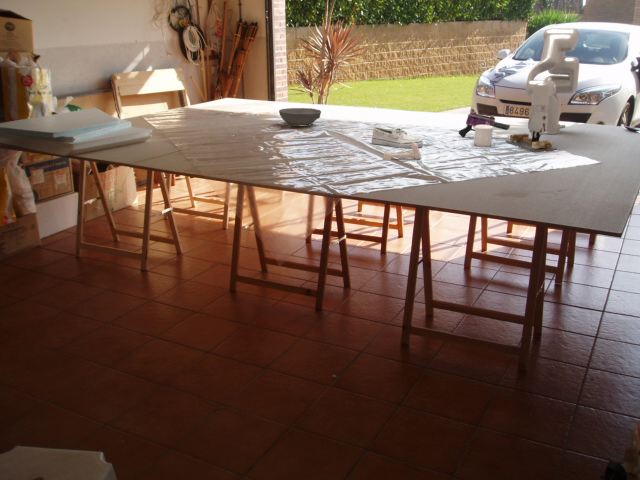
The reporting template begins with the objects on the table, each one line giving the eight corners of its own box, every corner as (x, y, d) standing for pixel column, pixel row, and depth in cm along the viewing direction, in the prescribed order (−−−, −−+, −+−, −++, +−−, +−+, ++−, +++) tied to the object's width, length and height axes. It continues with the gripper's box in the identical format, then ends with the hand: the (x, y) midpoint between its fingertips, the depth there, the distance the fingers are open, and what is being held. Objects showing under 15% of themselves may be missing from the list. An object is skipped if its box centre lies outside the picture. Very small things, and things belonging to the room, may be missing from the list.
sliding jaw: (547, 146, 299) (548, 139, 298) (551, 147, 296) (552, 140, 295) (531, 147, 297) (531, 141, 295) (534, 148, 294) (535, 142, 293)
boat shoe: (419, 149, 304) (420, 131, 300) (367, 145, 315) (367, 127, 312) (425, 145, 313) (425, 127, 309) (374, 141, 324) (374, 124, 320)
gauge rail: (523, 140, 318) (524, 132, 317) (553, 150, 295) (554, 141, 293) (507, 142, 316) (508, 133, 314) (536, 152, 293) (537, 143, 291)
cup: (481, 147, 305) (483, 128, 301) (468, 144, 313) (470, 125, 310) (495, 145, 309) (497, 126, 306) (482, 142, 317) (484, 124, 314)
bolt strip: (526, 140, 319) (526, 138, 318) (557, 150, 296) (557, 148, 295) (505, 142, 316) (505, 140, 315) (534, 152, 292) (534, 150, 292)
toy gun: (503, 147, 326) (512, 121, 320) (457, 136, 329) (465, 110, 323) (502, 146, 329) (511, 120, 323) (457, 135, 332) (465, 109, 326)
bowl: (278, 123, 383) (278, 107, 379) (318, 121, 385) (318, 106, 382) (280, 130, 359) (279, 114, 355) (323, 128, 361) (323, 112, 358)
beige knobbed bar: (386, 168, 288) (379, 149, 285) (420, 155, 286) (414, 136, 283) (387, 170, 285) (380, 151, 281) (422, 157, 283) (416, 138, 279)
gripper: (555, 110, 286) (550, 147, 293) (536, 105, 300) (532, 141, 306) (541, 111, 284) (537, 148, 291) (523, 106, 298) (519, 142, 304)
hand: (534, 144), depth 299 cm, fingers closed
